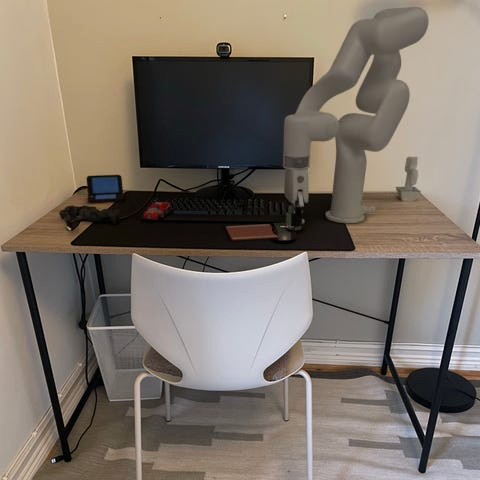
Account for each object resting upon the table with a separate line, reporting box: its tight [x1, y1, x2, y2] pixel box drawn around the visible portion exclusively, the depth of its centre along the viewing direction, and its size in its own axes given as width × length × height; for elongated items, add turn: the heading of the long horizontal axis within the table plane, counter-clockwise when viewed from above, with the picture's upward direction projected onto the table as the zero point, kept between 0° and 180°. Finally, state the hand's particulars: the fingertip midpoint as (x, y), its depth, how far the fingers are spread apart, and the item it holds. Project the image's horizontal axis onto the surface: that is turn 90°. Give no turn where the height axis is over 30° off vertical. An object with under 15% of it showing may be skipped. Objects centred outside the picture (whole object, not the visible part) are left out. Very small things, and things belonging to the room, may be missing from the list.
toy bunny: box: [285, 201, 305, 231], centre depth 146 cm, size 6×5×9 cm
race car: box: [142, 201, 171, 221], centre depth 159 cm, size 13×5×4 cm, turn 161°
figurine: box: [395, 156, 422, 202], centre depth 176 cm, size 7×9×15 cm
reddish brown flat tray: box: [225, 223, 280, 241], centre depth 146 cm, size 14×12×1 cm
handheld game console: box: [86, 174, 125, 204], centre depth 175 cm, size 12×11×7 cm
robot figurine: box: [58, 204, 122, 227], centre depth 154 cm, size 18×4×20 cm
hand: (293, 222), depth 147 cm, fingers closed on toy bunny, 4 cm apart
